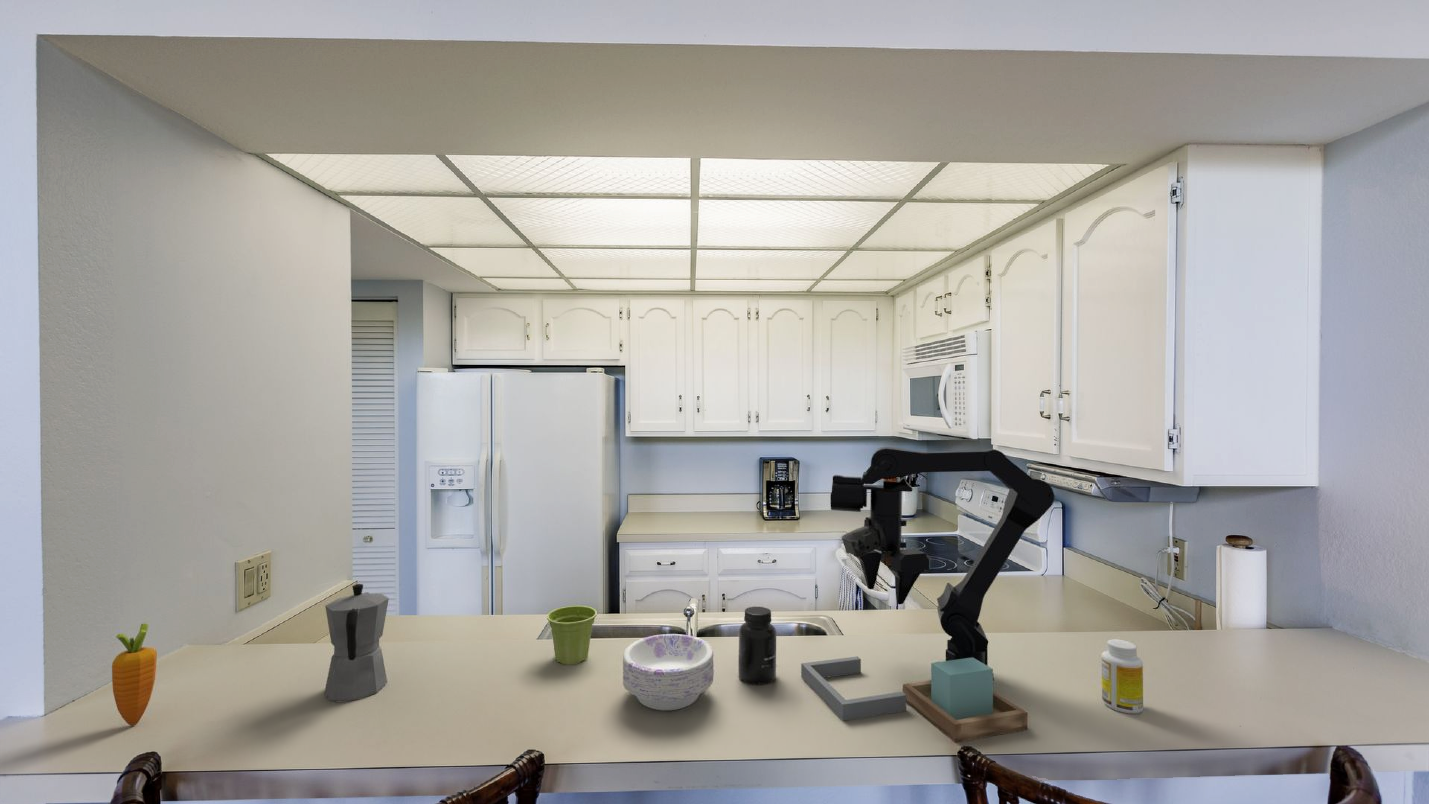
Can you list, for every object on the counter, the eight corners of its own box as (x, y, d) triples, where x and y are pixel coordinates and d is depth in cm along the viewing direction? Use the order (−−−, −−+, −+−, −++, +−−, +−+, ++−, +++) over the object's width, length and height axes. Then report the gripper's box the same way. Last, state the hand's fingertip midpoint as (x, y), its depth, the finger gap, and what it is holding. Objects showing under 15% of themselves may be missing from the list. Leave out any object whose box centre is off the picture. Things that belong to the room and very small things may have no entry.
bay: (857, 669, 109) (857, 656, 109) (906, 710, 94) (906, 695, 94) (801, 677, 106) (801, 663, 106) (842, 720, 91) (842, 704, 91)
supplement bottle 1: (774, 687, 102) (774, 618, 102) (735, 683, 103) (735, 615, 103) (777, 670, 109) (778, 605, 109) (741, 667, 110) (741, 603, 110)
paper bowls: (622, 725, 90) (622, 672, 90) (622, 679, 105) (623, 635, 105) (720, 717, 92) (720, 666, 92) (707, 674, 107) (707, 630, 107)
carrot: (115, 738, 85) (117, 635, 86) (105, 728, 88) (107, 628, 88) (161, 723, 90) (162, 624, 90) (150, 713, 92) (152, 618, 92)
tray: (968, 690, 101) (968, 674, 101) (1027, 729, 89) (1027, 712, 89) (902, 700, 98) (902, 684, 98) (955, 742, 85) (955, 724, 85)
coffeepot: (330, 678, 105) (331, 577, 105) (390, 668, 109) (391, 571, 109) (314, 719, 91) (315, 603, 91) (383, 706, 95) (385, 595, 95)
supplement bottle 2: (1150, 710, 94) (1150, 647, 95) (1130, 718, 92) (1130, 653, 92) (1114, 695, 100) (1114, 635, 100) (1094, 702, 97) (1094, 640, 97)
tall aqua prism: (977, 699, 97) (977, 656, 97) (997, 713, 92) (997, 668, 92) (931, 706, 94) (931, 663, 94) (949, 720, 90) (949, 675, 90)
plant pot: (597, 666, 110) (597, 620, 110) (545, 671, 108) (545, 624, 108) (595, 646, 119) (596, 604, 119) (547, 651, 117) (548, 607, 117)
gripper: (823, 507, 117) (822, 585, 117) (878, 525, 99) (877, 617, 99) (871, 505, 121) (870, 580, 121) (932, 522, 103) (931, 611, 103)
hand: (884, 596), depth 111 cm, fingers open, 9 cm apart
